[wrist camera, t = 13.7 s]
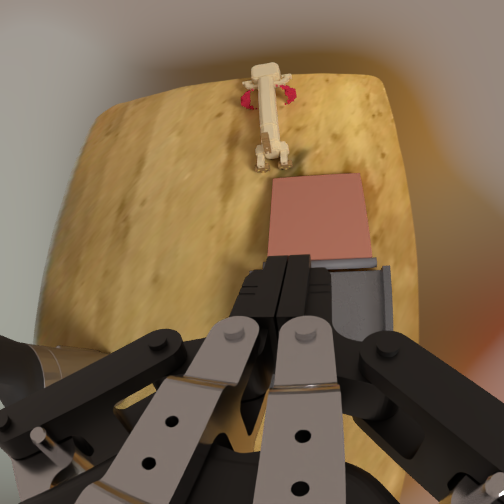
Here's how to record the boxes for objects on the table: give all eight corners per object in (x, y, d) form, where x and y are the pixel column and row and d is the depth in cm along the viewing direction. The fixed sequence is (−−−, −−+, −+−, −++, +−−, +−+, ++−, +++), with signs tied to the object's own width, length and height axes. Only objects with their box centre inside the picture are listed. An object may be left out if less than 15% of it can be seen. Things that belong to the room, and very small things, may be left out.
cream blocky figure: (307, 171, 48) (291, 67, 54) (301, 141, 40) (284, 35, 46) (246, 179, 50) (244, 75, 57) (230, 152, 42) (231, 45, 48)
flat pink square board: (377, 264, 35) (363, 172, 43) (262, 268, 39) (269, 178, 46) (375, 271, 37) (362, 181, 44) (265, 275, 40) (272, 187, 48)
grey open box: (385, 381, 34) (392, 385, 30) (255, 382, 39) (244, 386, 34) (383, 275, 39) (389, 265, 34) (258, 280, 43) (249, 271, 38)
